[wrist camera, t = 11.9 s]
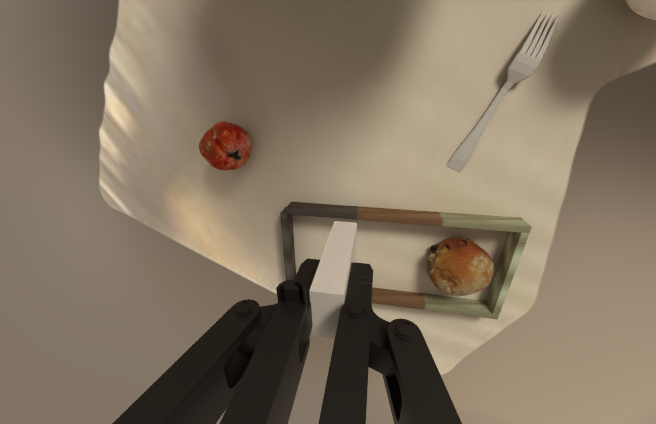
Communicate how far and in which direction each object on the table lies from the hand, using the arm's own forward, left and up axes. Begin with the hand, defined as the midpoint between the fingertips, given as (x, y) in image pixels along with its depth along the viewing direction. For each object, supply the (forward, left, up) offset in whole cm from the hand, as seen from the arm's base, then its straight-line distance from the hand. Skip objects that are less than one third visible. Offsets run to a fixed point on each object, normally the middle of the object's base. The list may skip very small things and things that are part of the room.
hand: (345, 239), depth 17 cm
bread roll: (+17, +16, -26) cm, 35 cm away
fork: (-8, +17, -26) cm, 32 cm away
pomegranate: (-2, -22, -26) cm, 34 cm away
